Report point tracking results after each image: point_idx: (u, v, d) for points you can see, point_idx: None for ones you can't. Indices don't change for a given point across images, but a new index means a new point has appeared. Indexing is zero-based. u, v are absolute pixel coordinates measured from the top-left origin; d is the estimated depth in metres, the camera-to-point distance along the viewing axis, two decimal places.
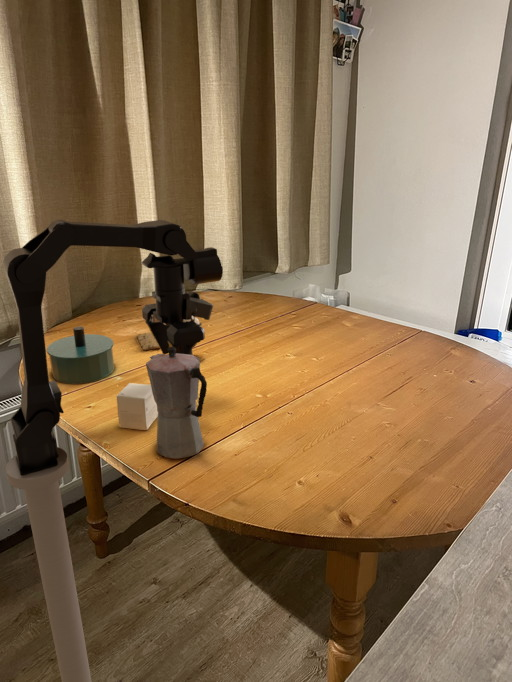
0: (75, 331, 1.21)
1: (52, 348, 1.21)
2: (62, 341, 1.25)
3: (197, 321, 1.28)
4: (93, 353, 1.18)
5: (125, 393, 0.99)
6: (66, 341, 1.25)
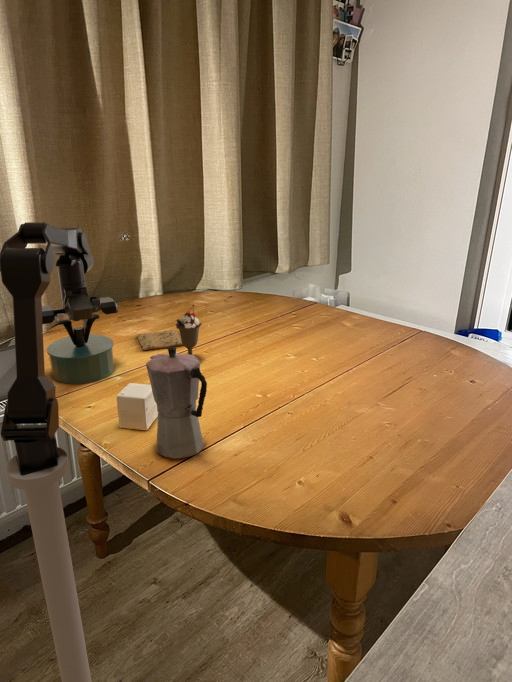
0: (75, 331, 1.21)
1: (52, 348, 1.21)
2: (62, 341, 1.25)
3: (197, 321, 1.28)
4: (93, 353, 1.18)
5: (125, 393, 0.99)
6: (66, 341, 1.25)
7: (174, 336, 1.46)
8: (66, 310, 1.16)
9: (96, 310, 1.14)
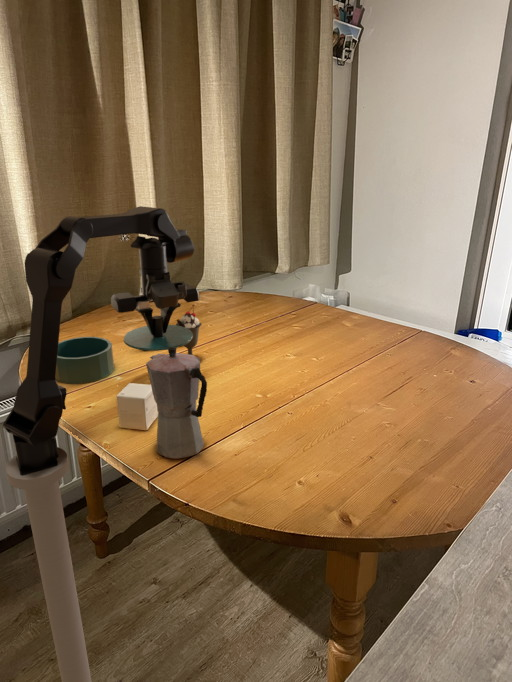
0: (154, 320, 1.12)
1: (129, 339, 1.12)
2: (137, 331, 1.17)
3: (197, 321, 1.28)
4: (176, 344, 1.10)
5: (125, 393, 0.99)
6: (141, 332, 1.16)
7: None
8: (148, 297, 1.07)
9: (182, 297, 1.06)
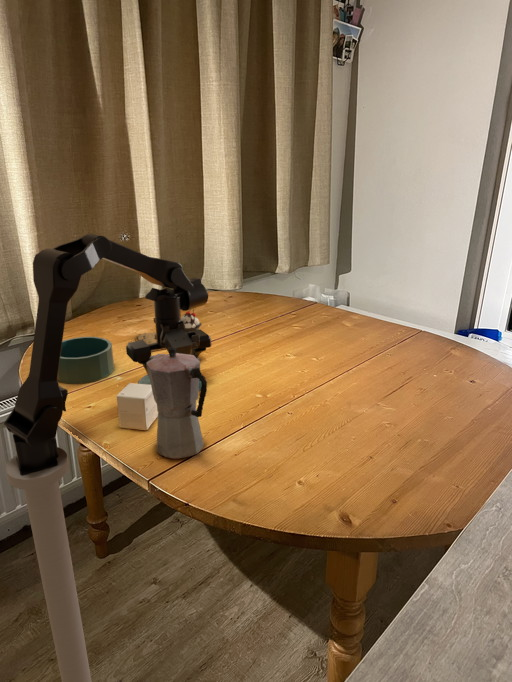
0: None
1: None
2: None
3: (197, 321, 1.28)
4: None
5: (125, 393, 0.99)
6: None
7: None
8: (163, 346, 1.10)
9: (195, 347, 1.09)
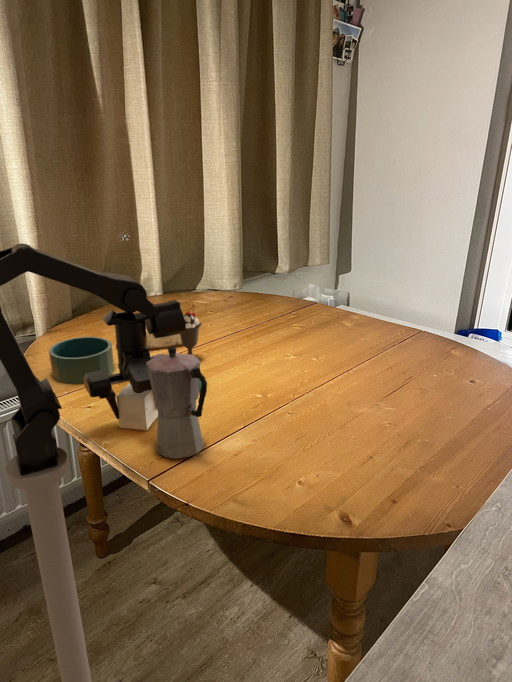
0: None
1: None
2: None
3: (197, 321, 1.28)
4: None
5: (125, 393, 0.99)
6: None
7: (174, 336, 1.46)
8: (125, 378, 0.95)
9: None
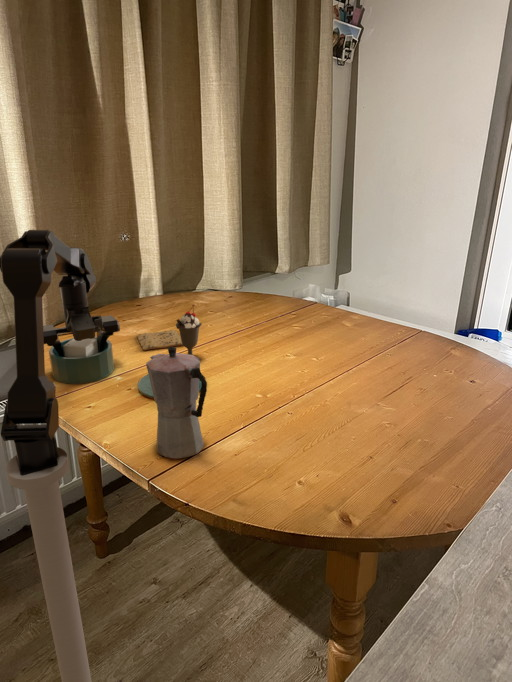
0: None
1: (143, 386, 1.16)
2: None
3: (197, 321, 1.28)
4: None
5: (70, 343, 1.21)
6: None
7: (174, 336, 1.46)
8: (69, 330, 1.17)
9: (98, 330, 1.16)
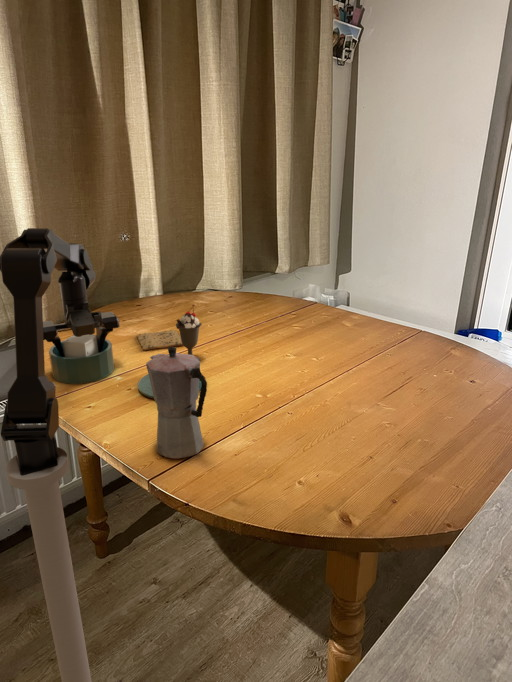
0: None
1: (143, 386, 1.16)
2: None
3: (197, 321, 1.28)
4: None
5: (70, 339, 1.21)
6: None
7: (174, 336, 1.46)
8: (68, 326, 1.17)
9: (98, 326, 1.16)
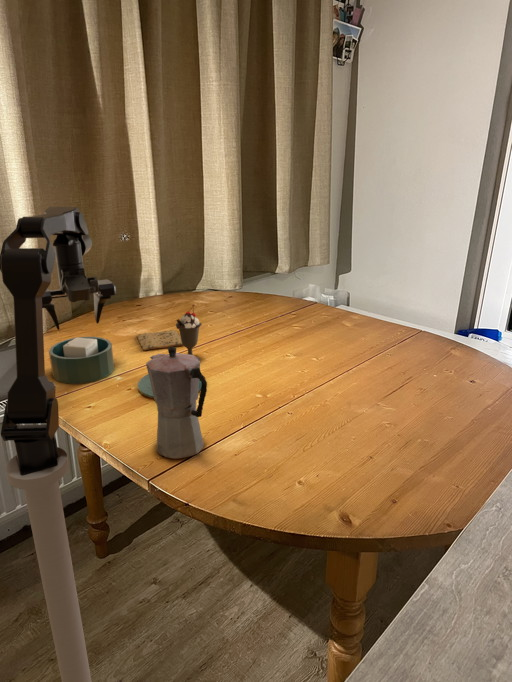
0: None
1: (143, 386, 1.16)
2: None
3: (197, 321, 1.28)
4: None
5: (70, 344, 1.21)
6: None
7: (174, 336, 1.46)
8: (63, 291, 1.14)
9: (94, 291, 1.13)
